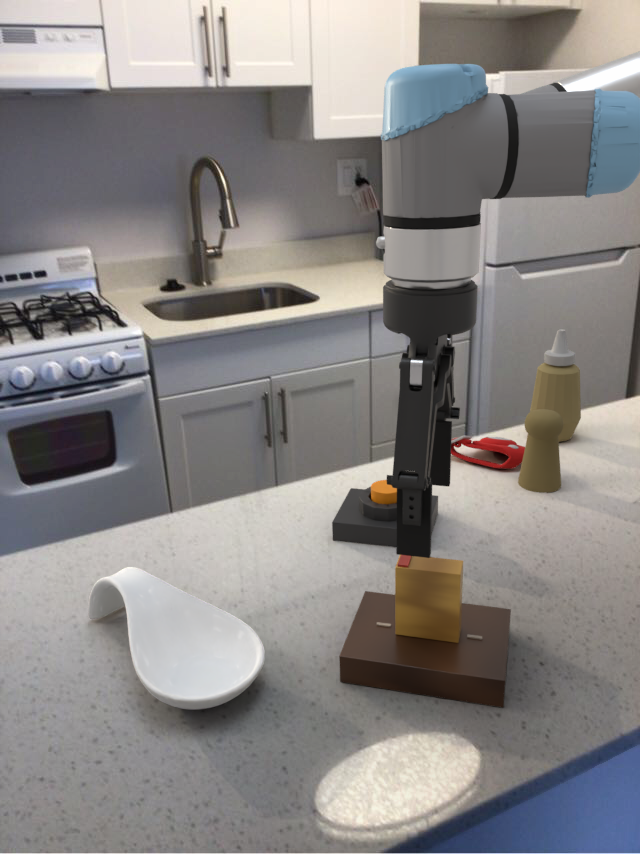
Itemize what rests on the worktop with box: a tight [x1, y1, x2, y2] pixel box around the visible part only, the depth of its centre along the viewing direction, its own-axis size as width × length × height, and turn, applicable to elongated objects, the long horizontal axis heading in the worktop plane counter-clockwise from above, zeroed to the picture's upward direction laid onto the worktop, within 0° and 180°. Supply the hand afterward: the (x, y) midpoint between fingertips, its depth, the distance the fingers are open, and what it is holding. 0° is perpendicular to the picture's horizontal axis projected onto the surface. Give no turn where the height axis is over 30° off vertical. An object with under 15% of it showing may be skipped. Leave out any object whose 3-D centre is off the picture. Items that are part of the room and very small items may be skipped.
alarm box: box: [331, 486, 439, 548], centre depth 98 cm, size 12×10×4 cm
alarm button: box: [370, 479, 397, 504], centre depth 97 cm, size 4×4×2 cm
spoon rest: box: [87, 566, 266, 710], centre depth 74 cm, size 24×12×7 cm, turn 46°
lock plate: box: [338, 590, 512, 709], centre depth 74 cm, size 15×11×3 cm
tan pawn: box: [517, 409, 563, 494], centre depth 107 cm, size 6×6×11 cm
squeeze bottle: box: [529, 328, 582, 443], centre depth 122 cm, size 8×8×18 cm
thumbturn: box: [394, 555, 464, 643], centre depth 72 cm, size 6×2×8 cm, turn 74°
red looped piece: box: [451, 434, 525, 470], centre depth 117 cm, size 12×4×10 cm
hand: (425, 516), depth 68 cm, fingers open, 13 cm apart
